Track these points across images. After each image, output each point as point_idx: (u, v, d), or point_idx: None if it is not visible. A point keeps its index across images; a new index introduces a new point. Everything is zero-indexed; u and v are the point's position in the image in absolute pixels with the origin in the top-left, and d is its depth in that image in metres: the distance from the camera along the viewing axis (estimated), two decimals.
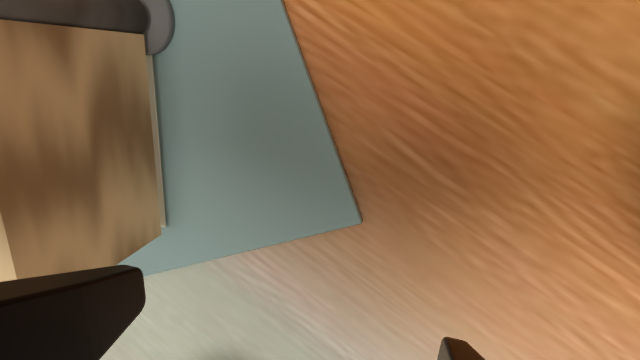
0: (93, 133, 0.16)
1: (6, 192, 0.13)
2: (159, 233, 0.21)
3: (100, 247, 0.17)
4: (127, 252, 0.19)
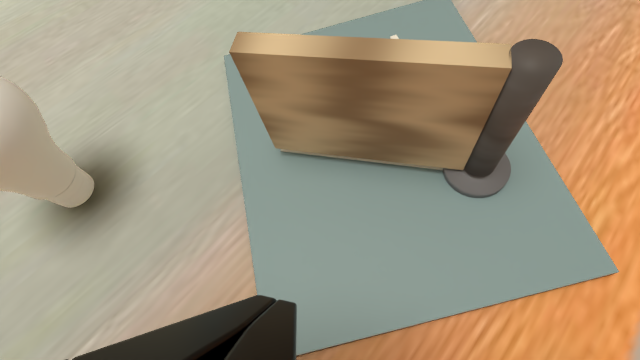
0: (387, 124, 0.18)
1: (356, 65, 0.14)
2: (277, 147, 0.22)
3: (280, 108, 0.18)
4: (267, 123, 0.20)
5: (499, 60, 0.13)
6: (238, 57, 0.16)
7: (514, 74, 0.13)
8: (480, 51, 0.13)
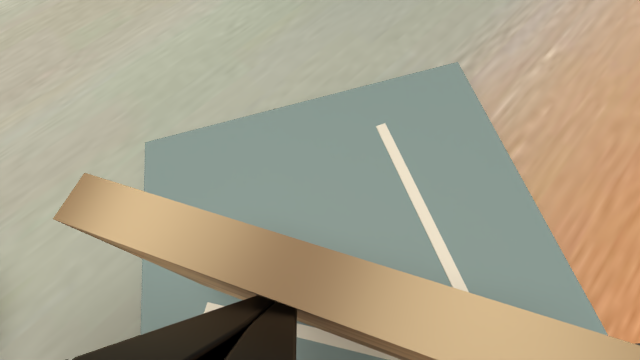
0: (357, 339, 0.10)
1: None
2: (205, 285, 0.15)
3: (184, 274, 0.11)
4: (177, 273, 0.13)
5: None
6: (73, 227, 0.08)
7: None
8: (561, 351, 0.06)
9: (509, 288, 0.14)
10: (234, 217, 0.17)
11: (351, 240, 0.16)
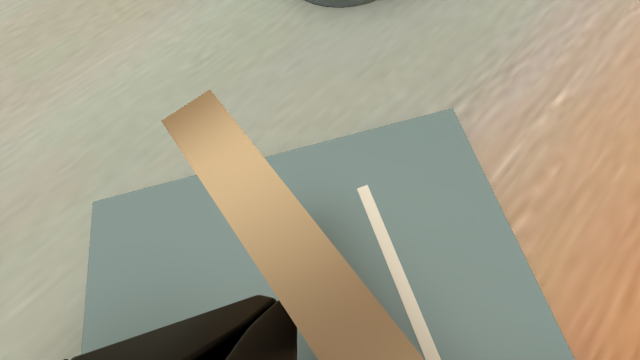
0: None
1: (319, 355, 0.05)
2: None
3: None
4: None
5: None
6: (174, 137, 0.08)
7: None
8: None
9: None
10: (189, 302, 0.15)
11: None
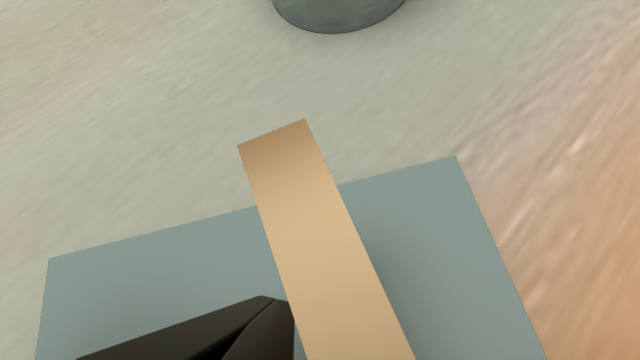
0: None
1: None
2: None
3: None
4: None
5: None
6: (247, 168, 0.06)
7: None
8: None
9: None
10: None
11: None
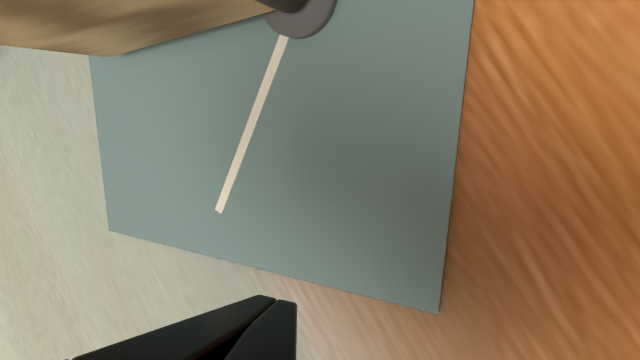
0: (132, 14, 0.14)
1: None
2: (107, 56, 0.20)
3: (39, 41, 0.16)
4: (60, 50, 0.18)
5: None
6: None
7: None
8: None
9: None
10: (166, 175, 0.21)
11: (194, 87, 0.19)
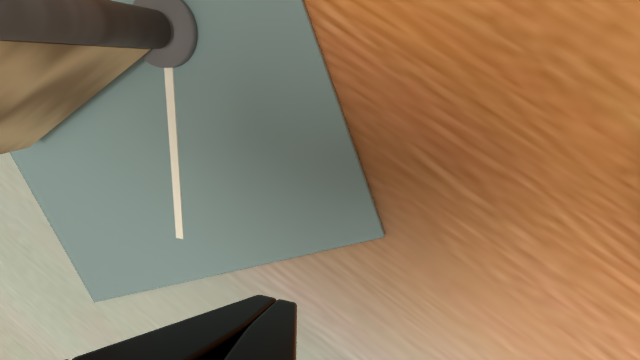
0: (29, 98, 0.16)
1: None
2: (27, 147, 0.22)
3: None
4: None
5: None
6: None
7: None
8: None
9: None
10: (123, 228, 0.23)
11: (113, 141, 0.21)
